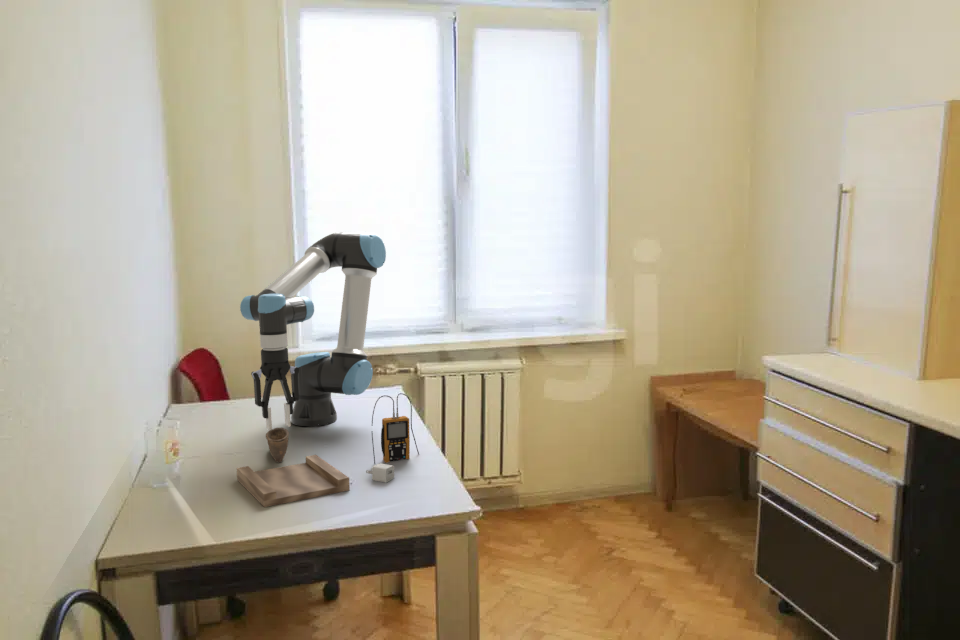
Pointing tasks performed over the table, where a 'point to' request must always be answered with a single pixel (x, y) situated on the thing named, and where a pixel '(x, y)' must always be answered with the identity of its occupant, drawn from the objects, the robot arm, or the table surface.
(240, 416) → the table surface
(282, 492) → the block
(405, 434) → the multimeter
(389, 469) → the usb wall charger
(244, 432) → the table surface
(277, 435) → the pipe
